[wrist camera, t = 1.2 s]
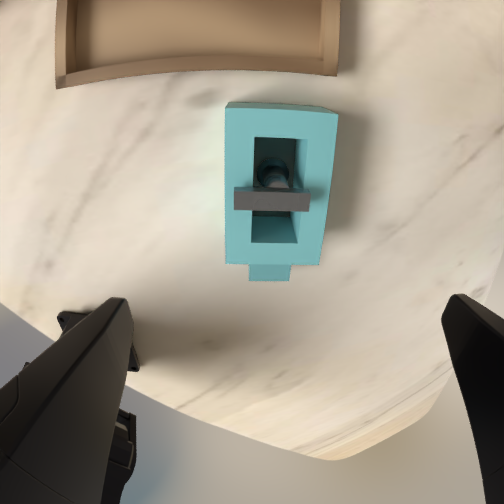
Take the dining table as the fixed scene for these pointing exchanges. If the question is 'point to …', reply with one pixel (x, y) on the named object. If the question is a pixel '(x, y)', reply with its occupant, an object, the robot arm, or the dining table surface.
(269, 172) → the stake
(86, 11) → the tray
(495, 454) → the robot arm
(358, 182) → the dining table surface
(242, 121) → the teal hollow block
